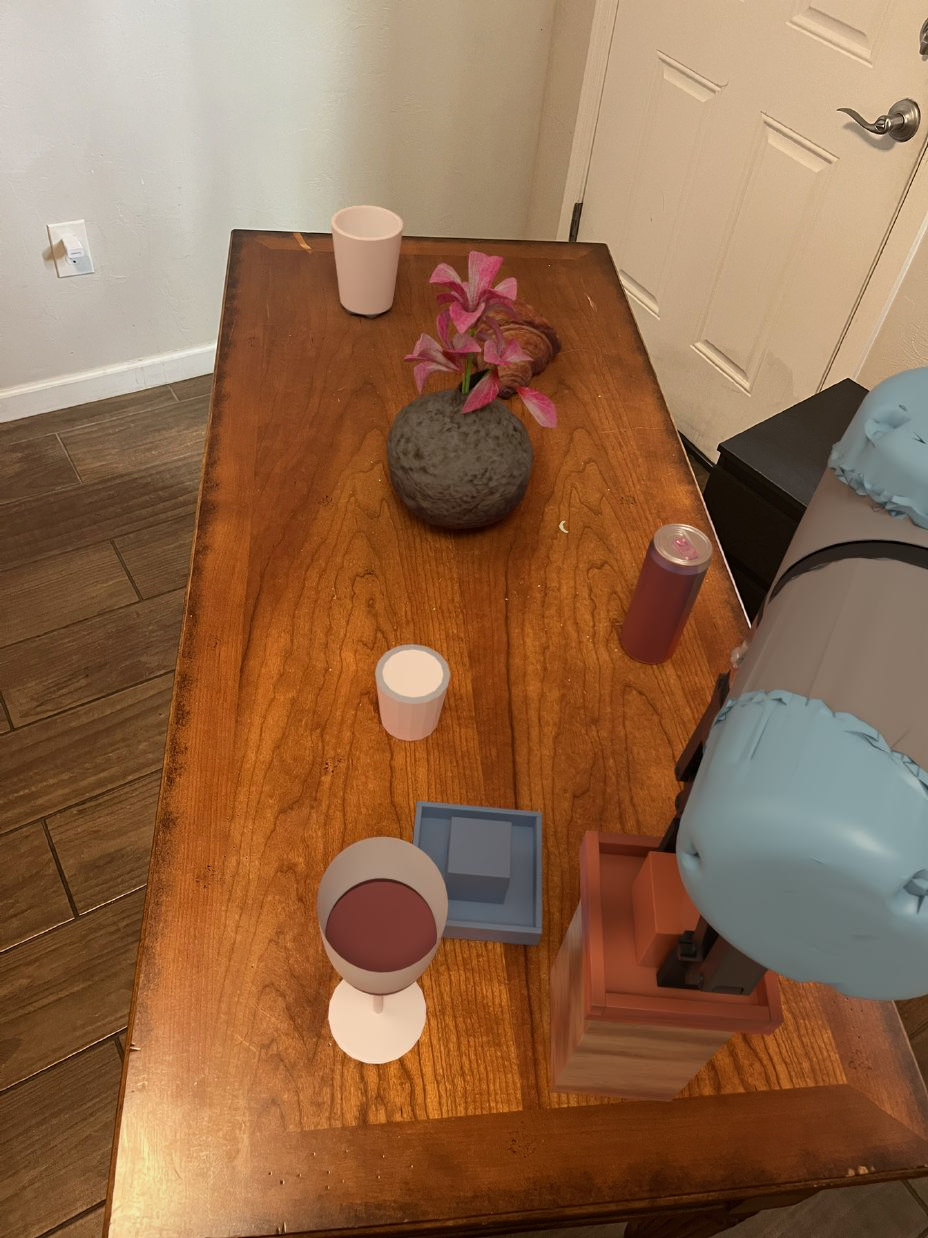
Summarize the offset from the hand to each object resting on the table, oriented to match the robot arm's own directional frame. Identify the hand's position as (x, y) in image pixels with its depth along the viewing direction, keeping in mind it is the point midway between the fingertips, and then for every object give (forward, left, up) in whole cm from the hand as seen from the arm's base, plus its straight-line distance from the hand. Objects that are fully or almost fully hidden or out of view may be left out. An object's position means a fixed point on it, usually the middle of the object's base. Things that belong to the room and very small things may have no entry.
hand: (674, 926), depth 58 cm
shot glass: (+28, +18, -21) cm, 39 cm away
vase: (+59, +15, -21) cm, 64 cm away
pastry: (+91, +10, -21) cm, 94 cm away
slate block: (+12, +11, -20) cm, 26 cm away
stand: (0, 0, -20) cm, 20 cm away
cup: (+100, +31, -21) cm, 107 cm away
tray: (+12, +11, -20) cm, 26 cm away
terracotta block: (0, 0, 0) cm, 0 cm away
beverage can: (+40, -6, -21) cm, 45 cm away
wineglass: (0, +18, -21) cm, 27 cm away
